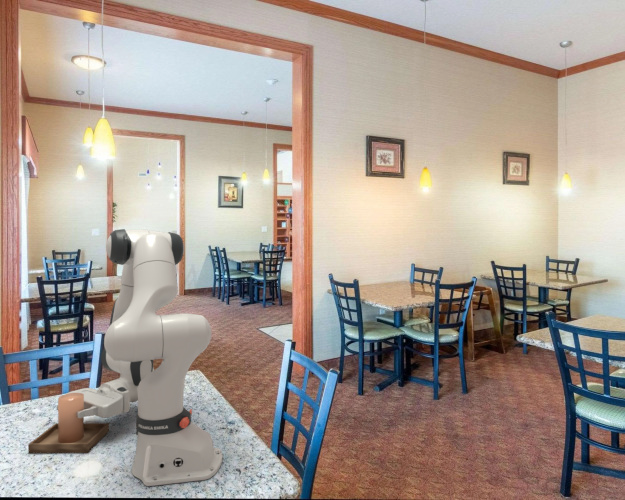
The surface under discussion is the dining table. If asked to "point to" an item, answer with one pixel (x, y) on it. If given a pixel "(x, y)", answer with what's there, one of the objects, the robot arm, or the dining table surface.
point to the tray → (85, 445)
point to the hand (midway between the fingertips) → (67, 411)
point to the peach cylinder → (70, 418)
